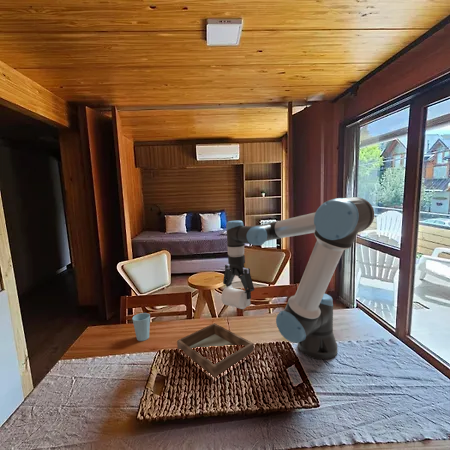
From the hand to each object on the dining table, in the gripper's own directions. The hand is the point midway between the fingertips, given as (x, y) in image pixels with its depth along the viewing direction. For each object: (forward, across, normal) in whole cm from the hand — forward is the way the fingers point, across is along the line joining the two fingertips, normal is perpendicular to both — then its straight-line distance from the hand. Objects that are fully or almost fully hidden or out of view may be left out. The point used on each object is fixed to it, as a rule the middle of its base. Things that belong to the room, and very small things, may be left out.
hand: (238, 302), depth 122 cm
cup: (+14, +30, +34) cm, 47 cm away
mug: (+1, 0, 0) cm, 1 cm away
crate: (+15, -4, +19) cm, 24 cm away
